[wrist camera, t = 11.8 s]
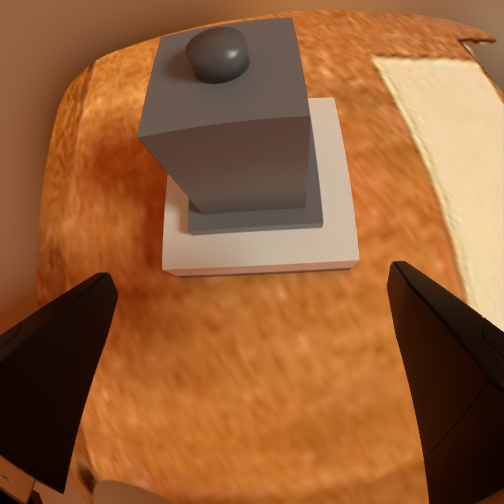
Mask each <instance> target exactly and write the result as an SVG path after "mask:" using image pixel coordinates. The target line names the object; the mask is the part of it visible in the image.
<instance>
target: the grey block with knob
mask: <svg viewBox="0 0 504 504" xmlns="http://www.w3.org/2000/svg"><path fill="white" fill-rule="evenodd" d="M137 138H138V139H139V140H140V141H141V143H142V144H143V145H144V146H145V147H146V148H147V150H148V151H149V152H150V153H151V154H152V155H153V157H154V158H155V159H156V160H157V161H158V163H159V164H160V165H161V166H162V167H163V168H164V170H165V171H166V172H167V173H168V174H169V175H170V177H171V178H172V179H173V180H174V181H175V182H176V184H177V185H178V186H179V187H180V188H181V189H182V191H183V192H184V193H185V194H186V195H187V196H188V198H189V206H188V232H189V233H190V234H191V235H192V236H194V235H209V234H224V233H240V232H256V231H273V230H291V229H310V228H322V227H323V223H324V222H323V212H322V202H321V192H320V183H319V175H318V166H317V158H316V151H315V143H314V136H313V129H312V122H311V116H310V109H309V103H308V97H307V91H306V85H305V80H304V74H303V69H302V63H301V58H300V53H299V48H298V43H297V38H296V34H295V29H294V24H293V20H292V18H276V19H263V20H253V21H244V22H237V23H229V24H223V25H217V26H211V27H205V28H200V29H195V30H190V31H186V32H181V33H177V34H173V35H168V36H165V37H161V39H160V43H159V46H158V50H157V53H156V57H155V61H154V64H153V68H152V72H151V76H150V80H149V84H148V89H147V93H146V97H145V102H144V107H143V111H142V116H141V121H140V126H139V132H138V137H137Z"/></svg>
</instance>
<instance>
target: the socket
mask: <svg viewBox="0 0 504 504" xmlns="http://www.w3.org/2000/svg"><path fill="white" fill-rule="evenodd" d="M308 103H309V109H310V116H311V122H312V129H313V136H314V143H315V151H316V158H317V166H318V175H319V183H320V192H321V202H322V212H323V222H324V223H323V227H322V228H310V229H291V230H273V231H256V232H240V233H224V234H209V235H194V236H192V235H191V234H190V233H189V232H188V206H189V198H188V196H187V195H186V194H185V193H184V192H183V191H182V189H181V188H180V187H179V186H178V185H177V184H176V182H175V181H174V180H173V179H172V178H171V177H170V175H169V174H168V175H167V186H166V199H165V213H164V230H163V252H162V270H164V271H166V272H169V273H171V274H174V275H176V276H179V277H181V278H188V277H216V276H241V275H263V274H284V273H303V272H321V271H339V270H350V269H351V268H352V267H353V266H354V265H355V264H356V263H357V262H358V261H359V252H358V242H357V232H356V224H355V216H354V208H353V200H352V193H351V186H350V180H349V174H348V167H347V161H346V156H345V150H344V145H343V139H342V134H341V129H340V124H339V119H338V114H337V110H336V105H335V101H334V98H308Z"/></svg>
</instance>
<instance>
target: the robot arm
mask: <svg viewBox="0 0 504 504" xmlns="http://www.w3.org/2000/svg"><path fill="white" fill-rule="evenodd" d="M387 292H388V297H389V302H390V307H391V312H392V318H393V324H394V329H395V334H396V338H397V341H398V345H399V349H400V352H401V356H402V360H403V363H404V367H405V371H406V375H407V379H408V383H409V387H410V391H411V396H412V400H413V405H414V409H415V414H416V419H417V424H418V429H419V434H420V439H421V445H422V451H423V457H424V464H425V471H426V479H427V486H428V495H429V504H504V332H503V331H501V330H500V329H499V328H497V327H496V326H495V325H493V324H492V323H491V322H490V321H488V320H487V319H486V318H483V317H482V315H480V314H479V313H478V312H476V311H475V310H474V309H472V308H471V307H470V306H468V305H467V304H466V303H464V302H463V301H462V300H460V299H459V298H457V297H456V296H455V295H453V294H452V293H450V292H449V291H448V290H446V289H445V288H443V287H442V286H441V285H439V284H438V283H436V282H435V281H433V280H432V279H431V278H429V277H428V276H426V275H425V274H423V273H422V272H420V271H419V270H417V269H416V268H414V267H413V266H412V265H410V264H409V263H407V262H405V261H393V262H392V263H391V265H390V271H389V277H388V282H387ZM117 300H118V292H117V289H116V287H115V284H114V282H113V280H112V277H111V275H110V274H109V273H107V272H103V273H97V274H95V275H93V276H92V277H90V278H88V279H87V280H85V281H83V282H82V283H80V284H79V285H77V286H75V287H74V288H72V289H71V290H69V291H67V292H66V293H64V294H63V295H61V296H59V297H58V298H56V299H55V300H53V301H52V302H50V303H48V304H47V305H45V306H44V307H42V308H41V309H39V310H38V311H36V312H35V313H33V314H32V315H30V316H28V317H27V318H26V319H24V320H23V321H21V322H20V323H18V324H17V325H15V326H14V327H12V328H10V329H9V330H7V331H6V332H4V333H3V334H1V335H0V504H43V503H42V501H41V498H40V495H39V493H38V492H36V491H34V490H33V488H34V485H35V482H36V481H38V482H39V483H41V484H43V485H45V486H47V487H49V488H51V489H53V490H55V491H57V492H59V493H61V494H63V493H64V490H65V485H66V480H67V476H68V471H69V466H70V462H71V457H72V453H73V449H74V445H75V440H76V436H77V432H78V429H79V425H80V421H81V417H82V414H83V410H84V407H85V403H86V400H87V397H88V393H89V390H90V387H91V384H92V381H93V377H94V374H95V371H96V368H97V365H98V362H99V359H100V356H101V354H102V351H103V348H104V345H105V342H106V339H107V336H108V333H109V329H110V326H111V322H112V318H113V314H114V310H115V307H116V303H117Z"/></svg>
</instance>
